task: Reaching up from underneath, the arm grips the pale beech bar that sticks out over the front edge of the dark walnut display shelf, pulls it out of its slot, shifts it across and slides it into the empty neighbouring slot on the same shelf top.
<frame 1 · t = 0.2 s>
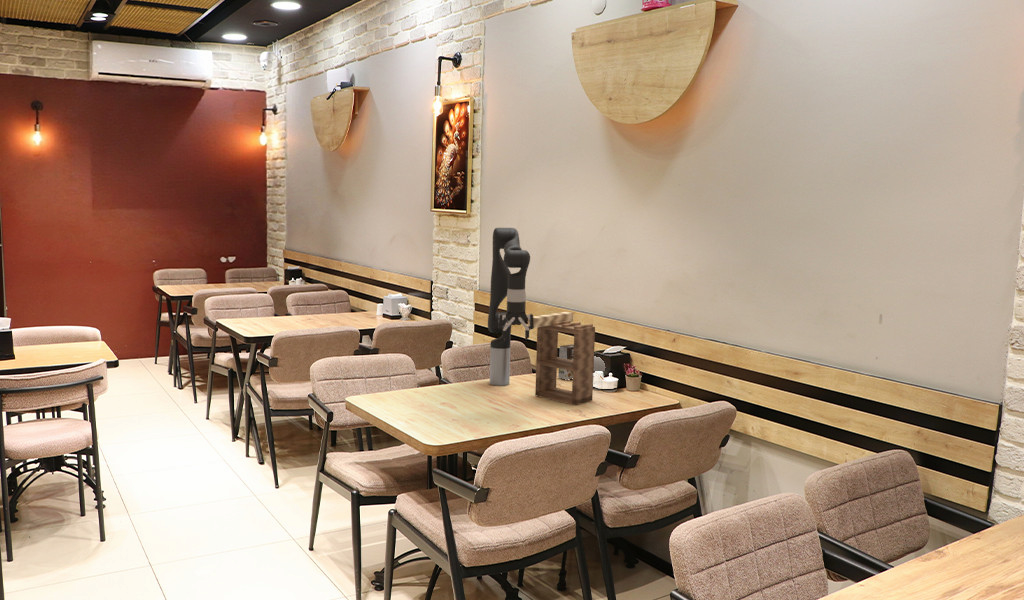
hand: (515, 339, 319), 29 cm above the table, tool pointing down, fingers open, 8 cm apart
chalice: (604, 387, 365), on the table
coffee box: (569, 379, 381), on the table
walnut shelf: (563, 397, 344), on the table
beech bar: (550, 324, 341), point 32 cm above the table, touching walnut shelf
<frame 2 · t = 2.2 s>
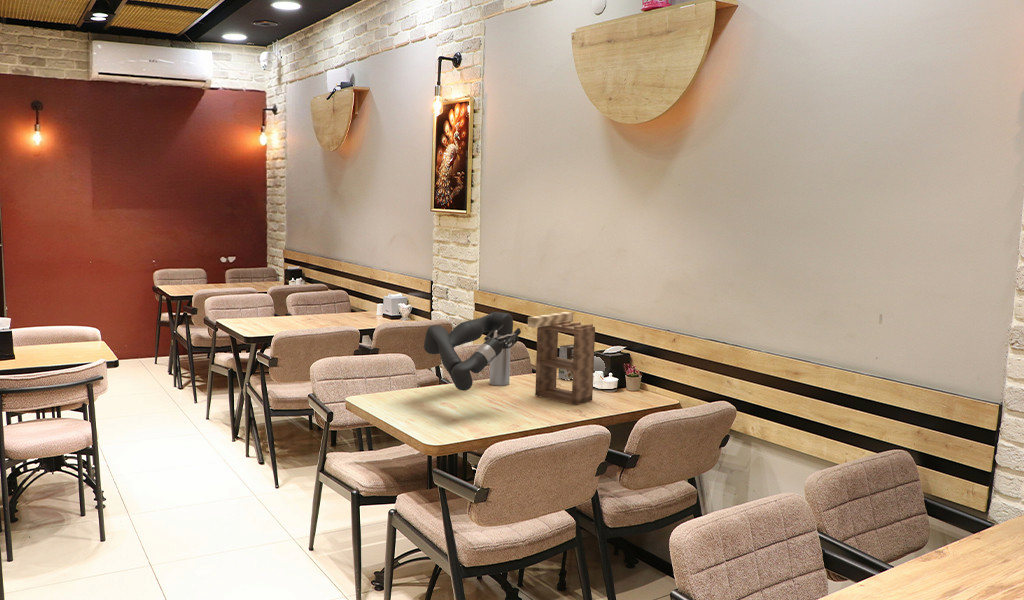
hand: (511, 328, 325), 32 cm above the table, tool pointing upward, fingers open, 8 cm apart
nothing on the table moved.
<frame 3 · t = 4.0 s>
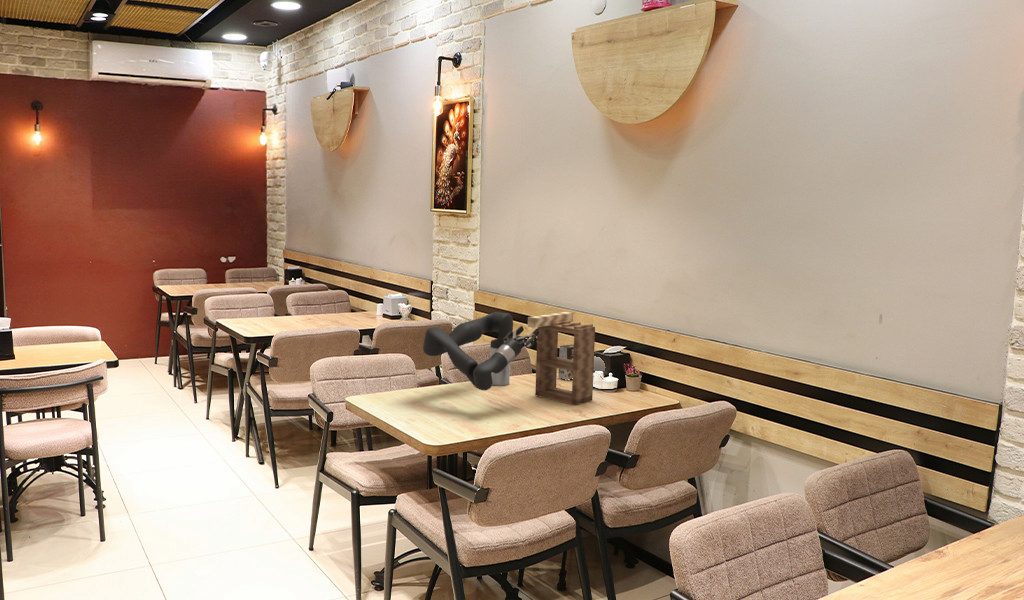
hand: (530, 329, 331), 31 cm above the table, tool pointing upward, fingers open, 8 cm apart
nothing on the table moved.
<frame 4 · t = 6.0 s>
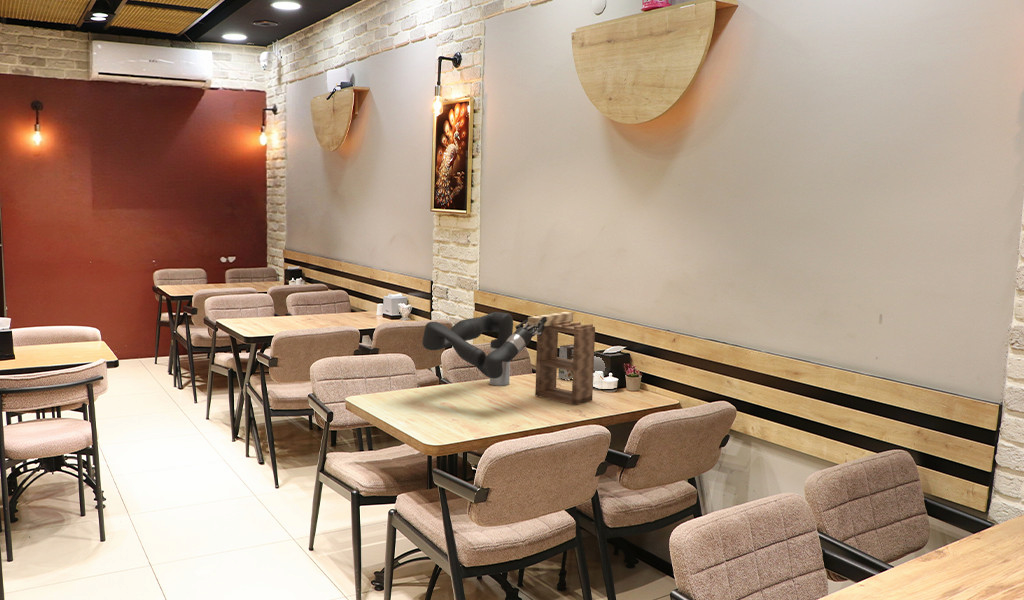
hand: (541, 317, 336), 35 cm above the table, tool pointing upward, fingers closed on beech bar, 4 cm apart
beech bar: (550, 324, 341), point 32 cm above the table, touching gripper, walnut shelf
everything else where it was.
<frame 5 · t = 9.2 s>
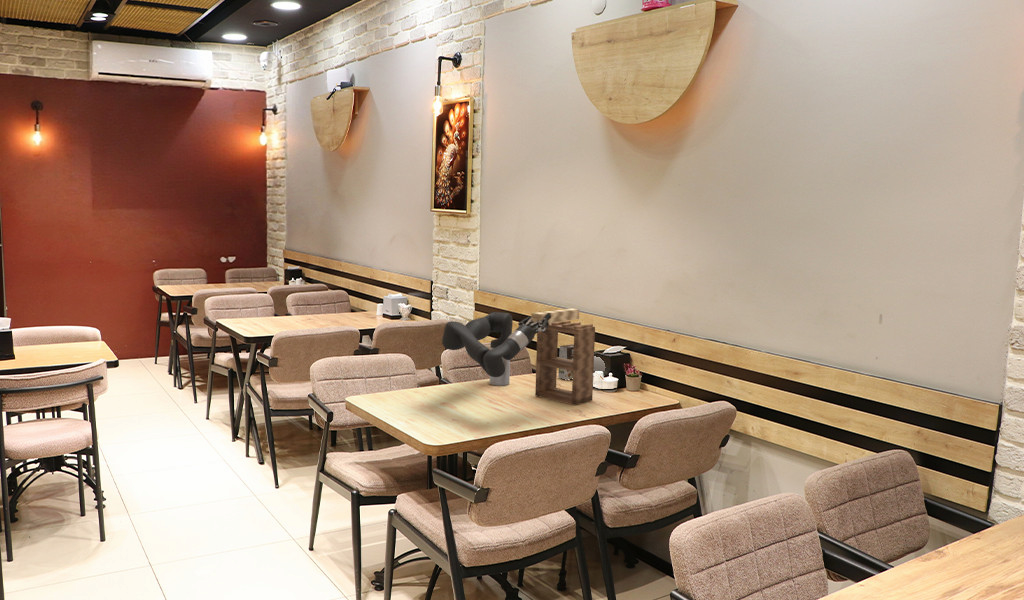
hand: (545, 314, 320), 39 cm above the table, tool pointing upward, fingers closed on beech bar, 4 cm apart
beech bar: (555, 320, 326), point 36 cm above the table, touching gripper
everything else where it was.
when the fingers open (37 cm above the table, at t = 12.2 s): beech bar drops 1 cm, resting on walnut shelf.
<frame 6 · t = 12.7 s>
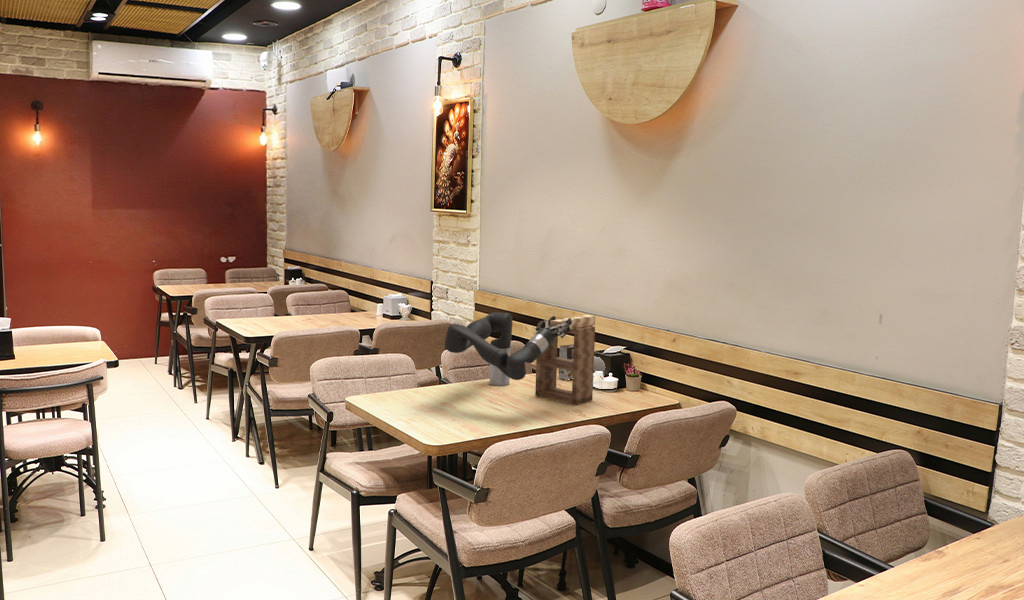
hand: (562, 318, 327), 36 cm above the table, tool pointing upward, fingers open, 8 cm apart
beech bar: (573, 327, 333), point 32 cm above the table, touching walnut shelf
everything else where it was.
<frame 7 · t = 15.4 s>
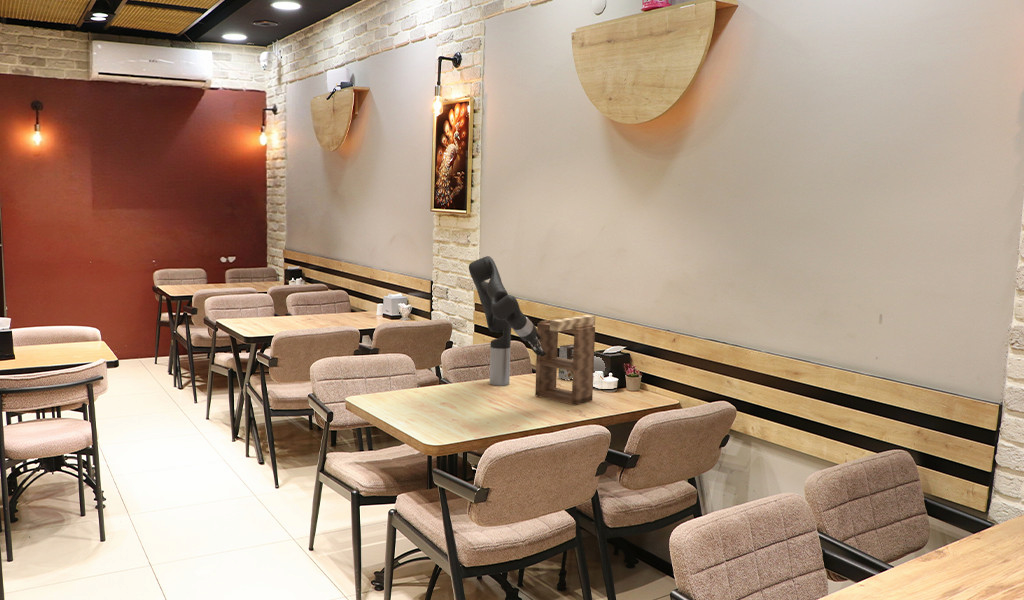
hand: (541, 346, 327), 25 cm above the table, tool tilted 55°, fingers open, 8 cm apart
nothing on the table moved.
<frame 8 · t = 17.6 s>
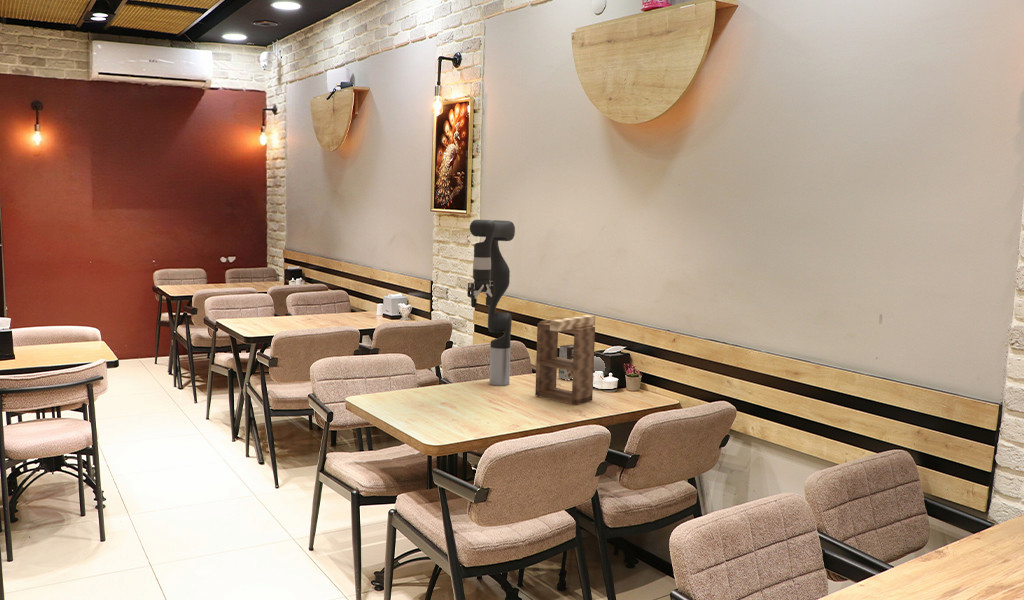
hand: (481, 306, 331), 40 cm above the table, tool pointing down, fingers open, 8 cm apart
nothing on the table moved.
at the end: beech bar inside the target area (0.1 cm from its centre), point 32.0 cm above the table; beech bar tilted 0°; the gripper is holding nothing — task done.
